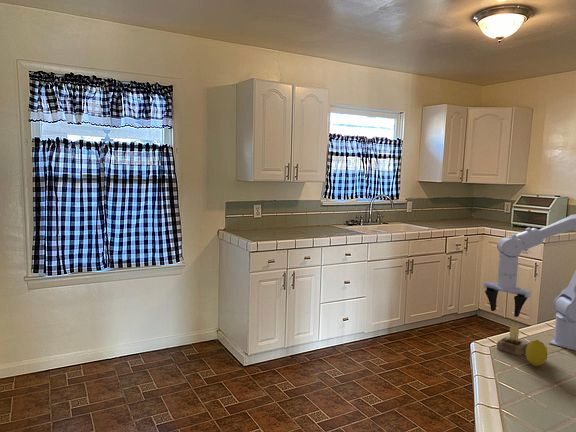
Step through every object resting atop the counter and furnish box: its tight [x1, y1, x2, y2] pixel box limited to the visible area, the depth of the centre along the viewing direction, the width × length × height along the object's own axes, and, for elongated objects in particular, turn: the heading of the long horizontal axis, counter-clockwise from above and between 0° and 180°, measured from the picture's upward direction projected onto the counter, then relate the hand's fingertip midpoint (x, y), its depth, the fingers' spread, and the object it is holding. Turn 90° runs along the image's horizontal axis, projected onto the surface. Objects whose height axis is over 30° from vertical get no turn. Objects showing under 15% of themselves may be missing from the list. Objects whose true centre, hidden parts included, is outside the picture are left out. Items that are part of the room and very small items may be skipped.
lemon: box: [525, 339, 548, 368], centre depth 128 cm, size 6×6×8 cm
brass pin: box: [508, 323, 520, 345], centre depth 140 cm, size 2×2×8 cm
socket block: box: [496, 336, 530, 357], centre depth 140 cm, size 7×7×2 cm
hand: (504, 313), depth 147 cm, fingers open, 7 cm apart
